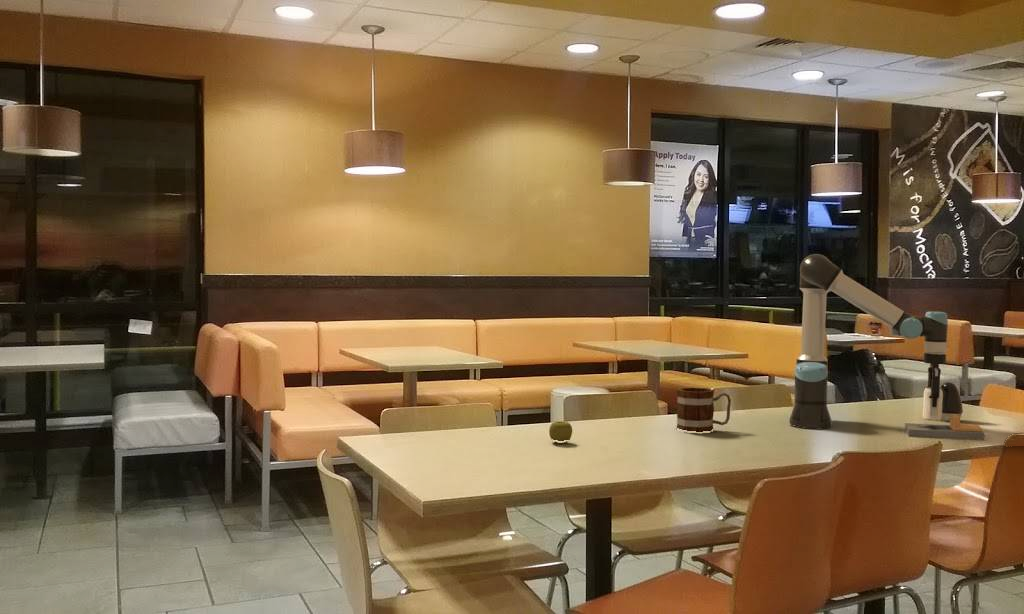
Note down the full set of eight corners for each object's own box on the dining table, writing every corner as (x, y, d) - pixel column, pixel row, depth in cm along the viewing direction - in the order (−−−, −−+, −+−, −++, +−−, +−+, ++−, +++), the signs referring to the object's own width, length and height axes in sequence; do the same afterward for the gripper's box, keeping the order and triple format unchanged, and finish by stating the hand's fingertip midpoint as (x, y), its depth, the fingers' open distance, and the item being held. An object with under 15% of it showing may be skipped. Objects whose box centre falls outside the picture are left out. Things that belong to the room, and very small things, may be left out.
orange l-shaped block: (953, 430, 319) (954, 417, 319) (950, 426, 328) (950, 413, 328) (982, 431, 317) (982, 418, 316) (977, 427, 325) (978, 414, 325)
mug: (679, 434, 326) (679, 392, 325) (673, 427, 339) (673, 387, 339) (734, 434, 325) (735, 392, 325) (726, 428, 339) (727, 387, 338)
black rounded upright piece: (928, 420, 357) (929, 381, 356) (941, 417, 363) (942, 379, 363) (954, 423, 349) (954, 384, 348) (967, 421, 355) (968, 382, 355)
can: (937, 418, 345) (939, 386, 344) (944, 421, 339) (945, 389, 338) (920, 417, 346) (921, 386, 345) (926, 420, 339) (927, 388, 339)
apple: (563, 446, 302) (563, 424, 302) (544, 443, 307) (544, 422, 307) (576, 443, 308) (577, 422, 308) (558, 440, 313) (558, 419, 313)
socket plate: (908, 436, 322) (908, 429, 322) (904, 429, 335) (904, 423, 335) (984, 440, 314) (984, 433, 314) (977, 433, 328) (977, 426, 327)
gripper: (949, 355, 331) (946, 418, 332) (942, 351, 349) (939, 411, 350) (927, 354, 333) (924, 417, 334) (921, 350, 351) (918, 409, 352)
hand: (932, 414), depth 342 cm, fingers closed on can, 6 cm apart
